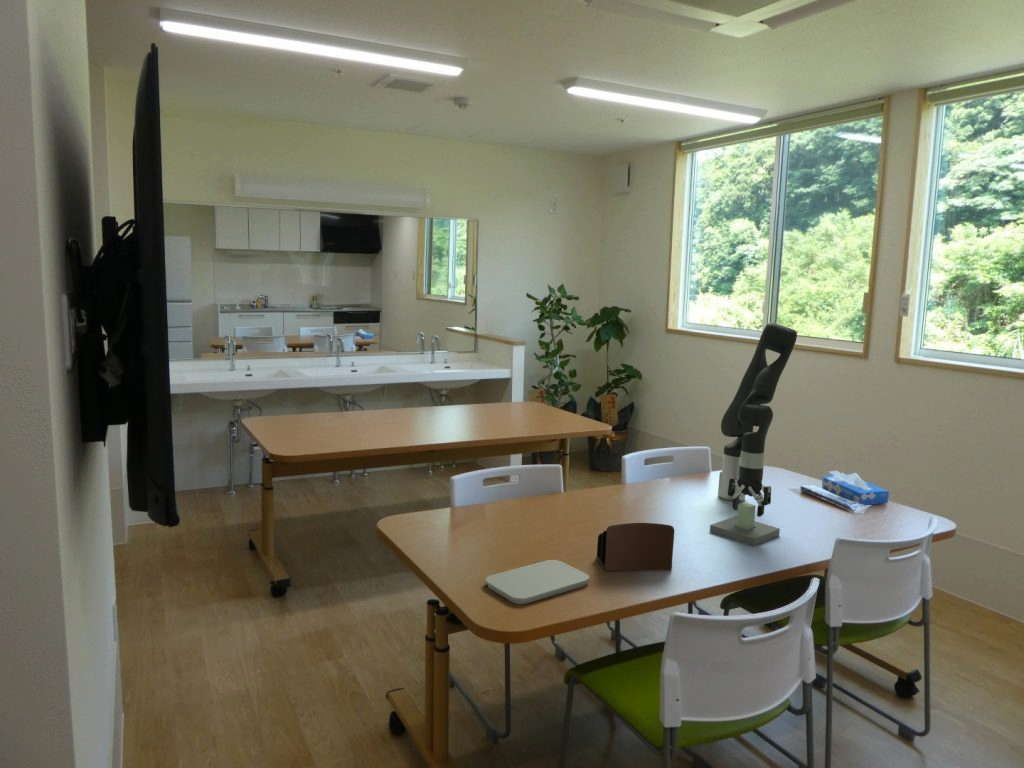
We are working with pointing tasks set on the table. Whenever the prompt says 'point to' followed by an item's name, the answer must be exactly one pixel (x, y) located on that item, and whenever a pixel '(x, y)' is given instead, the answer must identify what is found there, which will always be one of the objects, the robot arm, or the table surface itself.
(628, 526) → the letter holder
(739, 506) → the sage block
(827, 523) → the table surface
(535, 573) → the tablet
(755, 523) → the pocket holder
